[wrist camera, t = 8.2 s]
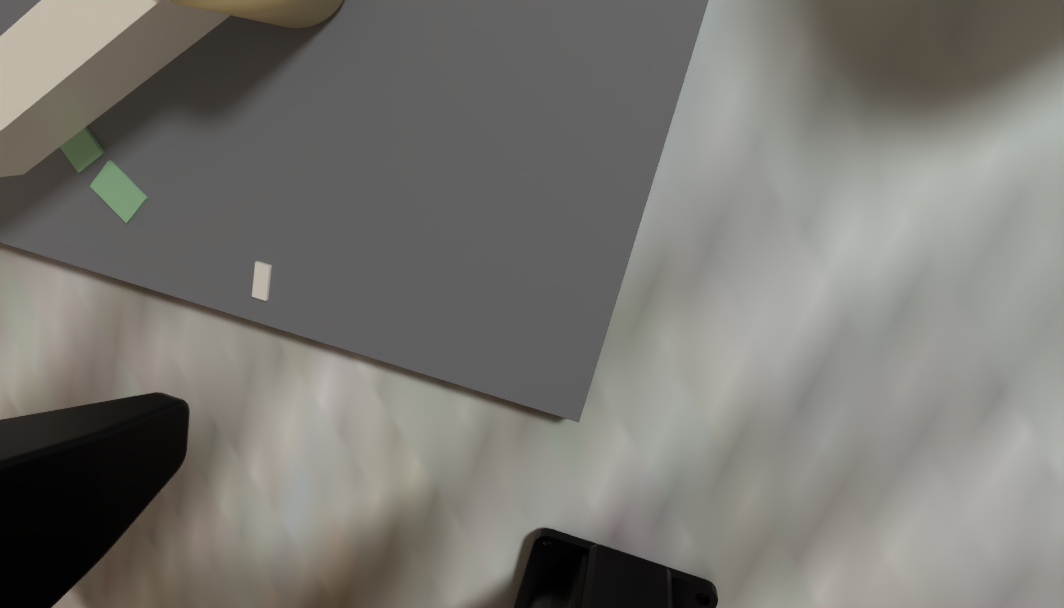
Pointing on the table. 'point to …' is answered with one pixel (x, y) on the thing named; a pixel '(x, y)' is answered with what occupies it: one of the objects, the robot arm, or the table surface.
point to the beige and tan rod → (104, 60)
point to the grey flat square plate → (386, 180)
